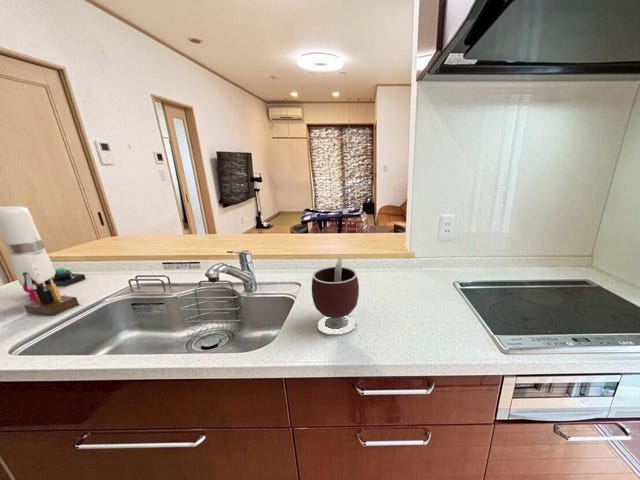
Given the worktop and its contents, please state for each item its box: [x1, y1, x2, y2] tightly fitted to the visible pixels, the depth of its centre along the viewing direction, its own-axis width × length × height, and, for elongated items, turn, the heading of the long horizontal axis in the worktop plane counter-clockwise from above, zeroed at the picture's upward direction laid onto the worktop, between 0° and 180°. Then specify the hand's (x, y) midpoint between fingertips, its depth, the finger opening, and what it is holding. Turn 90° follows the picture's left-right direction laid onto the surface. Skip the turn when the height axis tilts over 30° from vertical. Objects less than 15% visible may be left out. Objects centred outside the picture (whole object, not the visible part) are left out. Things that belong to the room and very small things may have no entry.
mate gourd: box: [311, 255, 360, 337], centre depth 89 cm, size 16×14×20 cm
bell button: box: [54, 267, 66, 275], centre depth 119 cm, size 4×4×2 cm
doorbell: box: [53, 269, 87, 288], centre depth 120 cm, size 12×8×4 cm, turn 82°
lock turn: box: [33, 284, 62, 303], centre depth 97 cm, size 5×2×6 cm, turn 111°
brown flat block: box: [23, 294, 80, 317], centre depth 99 cm, size 10×9×3 cm
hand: (50, 299), depth 98 cm, fingers closed on lock turn, 2 cm apart
